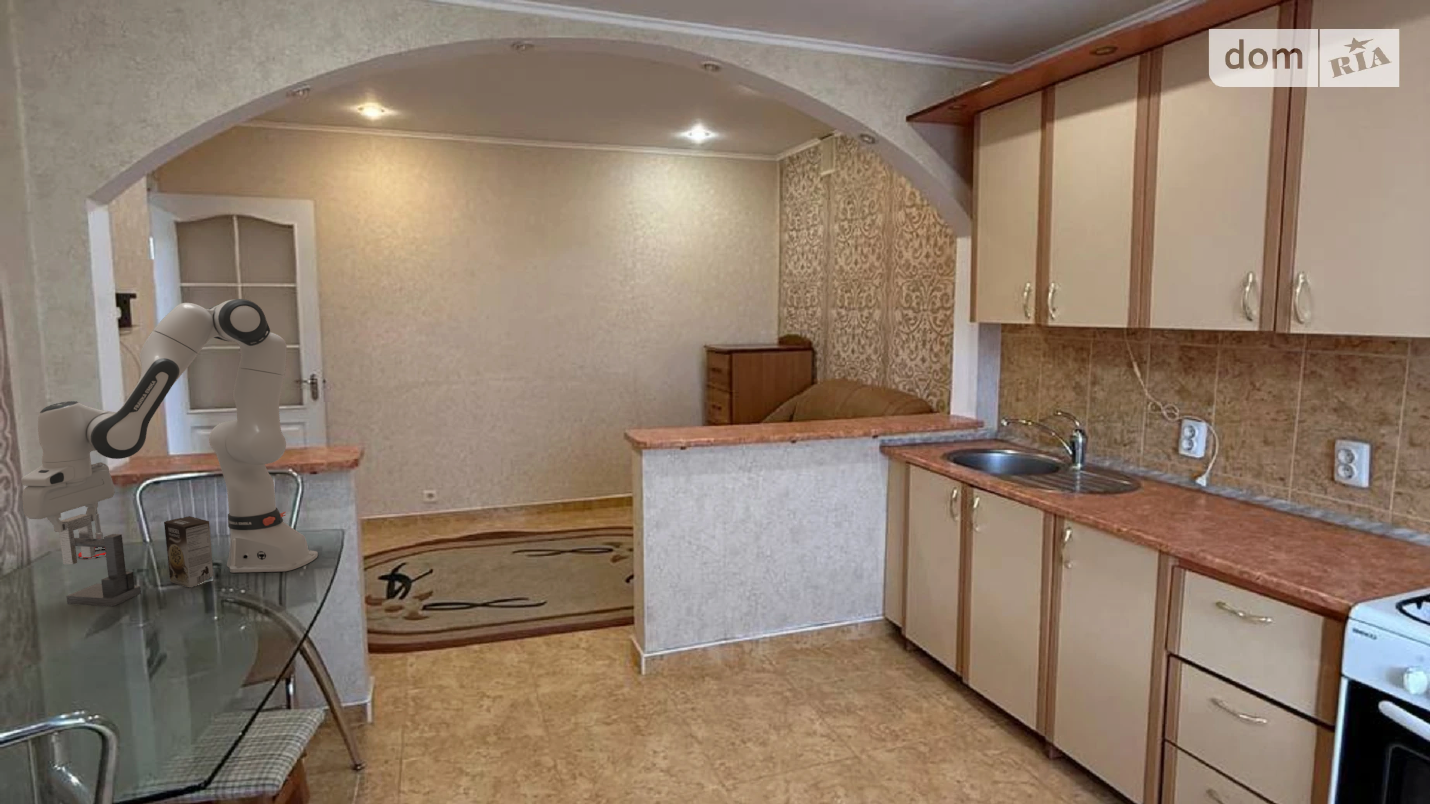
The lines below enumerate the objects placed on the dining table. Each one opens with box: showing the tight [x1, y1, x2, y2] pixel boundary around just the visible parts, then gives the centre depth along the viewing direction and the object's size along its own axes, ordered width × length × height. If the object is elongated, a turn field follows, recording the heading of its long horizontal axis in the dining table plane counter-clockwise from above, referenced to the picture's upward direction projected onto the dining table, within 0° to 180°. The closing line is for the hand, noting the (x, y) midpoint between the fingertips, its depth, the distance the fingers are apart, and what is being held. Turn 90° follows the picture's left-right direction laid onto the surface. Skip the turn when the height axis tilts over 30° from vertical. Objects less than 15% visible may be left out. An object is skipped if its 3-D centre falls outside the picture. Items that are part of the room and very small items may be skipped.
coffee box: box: [163, 515, 214, 588], centre depth 198 cm, size 9×6×16 cm
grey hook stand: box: [66, 533, 142, 607], centre depth 187 cm, size 15×8×16 cm, turn 83°
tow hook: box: [77, 509, 106, 558], centre depth 218 cm, size 8×13×9 cm
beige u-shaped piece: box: [58, 513, 96, 565], centre depth 186 cm, size 2×6×10 cm, turn 173°
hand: (75, 526), depth 186 cm, fingers closed on beige u-shaped piece, 6 cm apart
